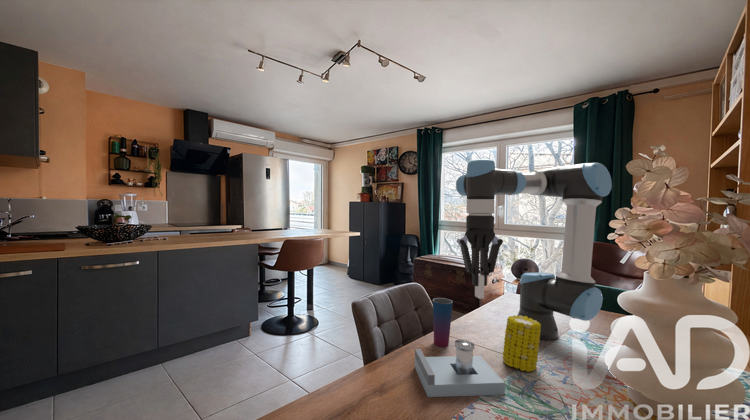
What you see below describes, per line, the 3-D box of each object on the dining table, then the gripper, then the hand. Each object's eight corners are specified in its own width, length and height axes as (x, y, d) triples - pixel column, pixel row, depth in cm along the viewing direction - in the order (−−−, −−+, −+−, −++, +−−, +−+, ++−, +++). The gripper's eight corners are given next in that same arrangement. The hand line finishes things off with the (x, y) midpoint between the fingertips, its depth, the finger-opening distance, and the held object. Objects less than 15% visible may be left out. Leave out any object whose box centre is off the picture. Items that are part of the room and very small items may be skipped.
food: (496, 364, 94) (525, 364, 96) (520, 375, 83) (553, 375, 84) (494, 313, 98) (522, 314, 99) (516, 317, 86) (547, 318, 88)
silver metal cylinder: (468, 374, 85) (469, 339, 85) (476, 384, 80) (477, 347, 80) (451, 374, 84) (451, 339, 84) (458, 385, 79) (459, 347, 79)
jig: (479, 365, 90) (480, 347, 90) (504, 394, 76) (505, 373, 76) (414, 367, 88) (415, 348, 88) (427, 397, 74) (428, 375, 74)
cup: (451, 349, 100) (453, 304, 100) (431, 346, 101) (432, 302, 101) (450, 340, 107) (452, 298, 107) (431, 338, 108) (432, 297, 108)
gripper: (495, 214, 89) (494, 292, 90) (453, 214, 88) (452, 293, 88) (509, 215, 82) (508, 300, 82) (463, 215, 81) (462, 302, 81)
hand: (479, 297), depth 85 cm, fingers closed
